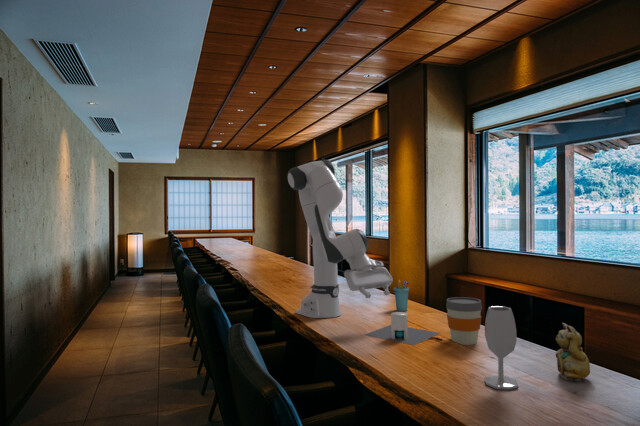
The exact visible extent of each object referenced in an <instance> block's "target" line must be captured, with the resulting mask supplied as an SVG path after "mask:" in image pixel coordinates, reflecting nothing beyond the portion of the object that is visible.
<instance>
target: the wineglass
mask: <svg viewBox="0 0 640 426" xmlns="http://www.w3.org/2000/svg"><path fill="white" fill-rule="evenodd" d="M512 310H513V309H512V308H511V307H507V306H505V305H502V306H501V305H500V306H499V305H494V306H493V305H492V306H488V308H487V310H486V315H485V321H484V322H485V323H484V337H485V340H486V345H487V348H488V350H490V351H491V352H492V353H493V354H494V355H495V356H496V357H497V365H498V366H497V368H498V369H497V375H491V376H487V377H486V376H485V377H484V382H485V385H487V386H488V387H491V388H493V389H494V390H495V389H496V390H507V391H508V390H509V391H510V390H514V389H519V384H518V381H517V380H516V379H514V378H510V376H509V377H508V376H504V359H505V357H507V356H508V355H510V354H511V353H513V352H514V351H515V348H516V344H517V339H518V337H517V327H516V321H515V320H516V319H515V316H514V313H513V311H512Z"/></svg>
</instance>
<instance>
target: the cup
mask: <svg viewBox="0 0 640 426" xmlns="http://www.w3.org/2000/svg"><path fill="white" fill-rule="evenodd" d="M406 285H409V282H407V280H404V281H403V285H402V283H401V279H398V286H397V287H393V291H394V299H395V300H394V301H395V308H396V312H404V313H405V312H407V311H408V302H409V291H410V287H406Z"/></svg>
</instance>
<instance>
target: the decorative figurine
mask: <svg viewBox="0 0 640 426" xmlns="http://www.w3.org/2000/svg"><path fill="white" fill-rule="evenodd" d="M561 325H562V327H563V329H561V330H559V331H558V334H557V335H556V337H555V342H557V345H559V347H561V348H560V349H558V350H557V351H556V353H555V358H556V366H557V371H558V372H559V375H560V376H561V377H562V378H563V379H564V380H565V381H574V382H585V381H584V379H585V378H588V377H589V375H590V374H591V365H590V359H589V358H588V356H587V354H586V353H585V352H584V351H583V347H582V346H581V345H582V344H583V337H582V335H581V334H580V333H579V332H578V331H577V330H576V329H575V328H574V327H573V326H571V325H568V324H567V323H564V322H561Z"/></svg>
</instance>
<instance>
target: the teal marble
mask: <svg viewBox="0 0 640 426" xmlns="http://www.w3.org/2000/svg"><path fill="white" fill-rule="evenodd" d="M403 335H404V333H403V331H398V330H397V331H396V336H397V337H398V338H402V337H403Z"/></svg>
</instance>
